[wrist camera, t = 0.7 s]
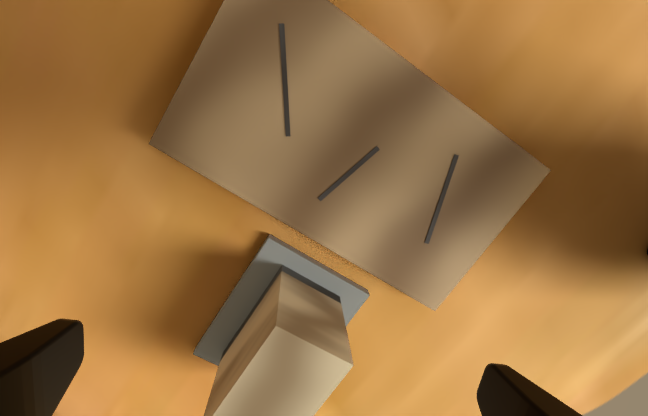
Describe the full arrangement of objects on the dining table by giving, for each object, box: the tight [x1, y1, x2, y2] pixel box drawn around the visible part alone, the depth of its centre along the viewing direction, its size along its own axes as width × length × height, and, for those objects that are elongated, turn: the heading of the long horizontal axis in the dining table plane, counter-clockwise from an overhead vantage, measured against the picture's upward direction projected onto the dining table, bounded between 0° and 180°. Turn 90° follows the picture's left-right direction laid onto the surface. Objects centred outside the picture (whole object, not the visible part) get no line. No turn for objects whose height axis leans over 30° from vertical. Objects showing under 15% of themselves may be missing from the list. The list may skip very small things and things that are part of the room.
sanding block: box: [204, 265, 353, 416], centre depth 19 cm, size 4×7×6 cm, turn 147°
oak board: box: [149, 0, 551, 311], centre depth 19 cm, size 18×10×2 cm, turn 57°
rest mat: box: [193, 234, 369, 366], centre depth 22 cm, size 7×9×1 cm
